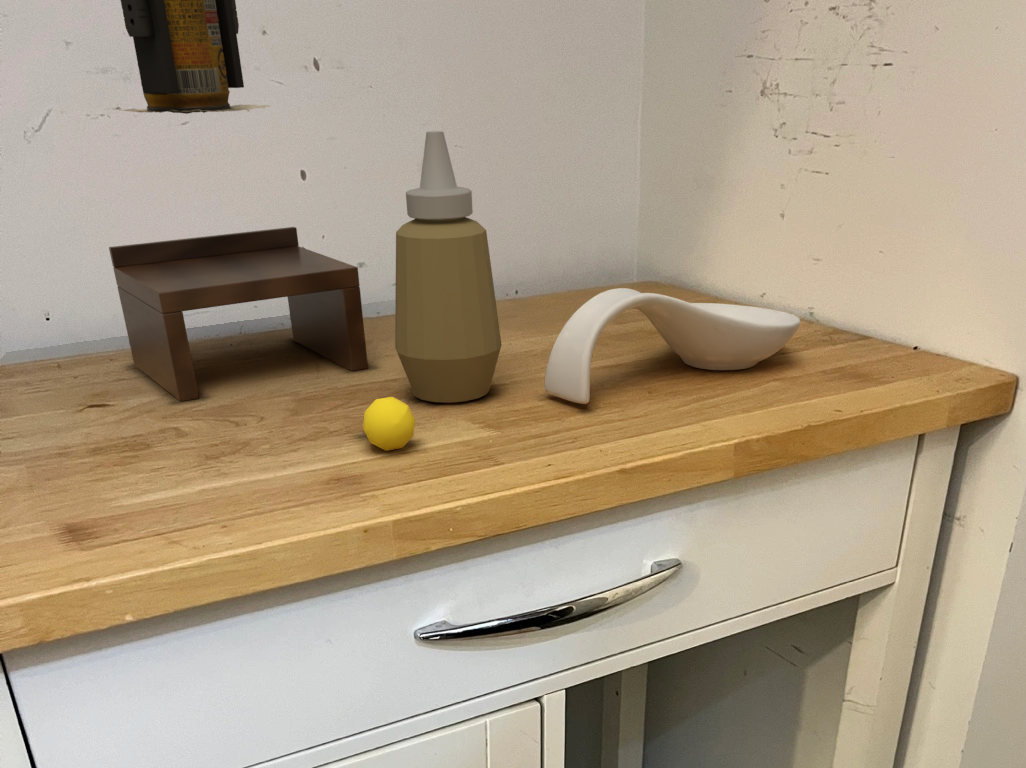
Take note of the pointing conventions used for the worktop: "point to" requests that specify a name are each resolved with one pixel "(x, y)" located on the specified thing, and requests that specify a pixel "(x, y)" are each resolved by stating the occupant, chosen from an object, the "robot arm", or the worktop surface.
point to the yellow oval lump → (388, 423)
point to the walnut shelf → (233, 297)
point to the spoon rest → (667, 336)
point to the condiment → (195, 62)
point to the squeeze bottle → (444, 288)
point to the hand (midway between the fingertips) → (194, 89)
